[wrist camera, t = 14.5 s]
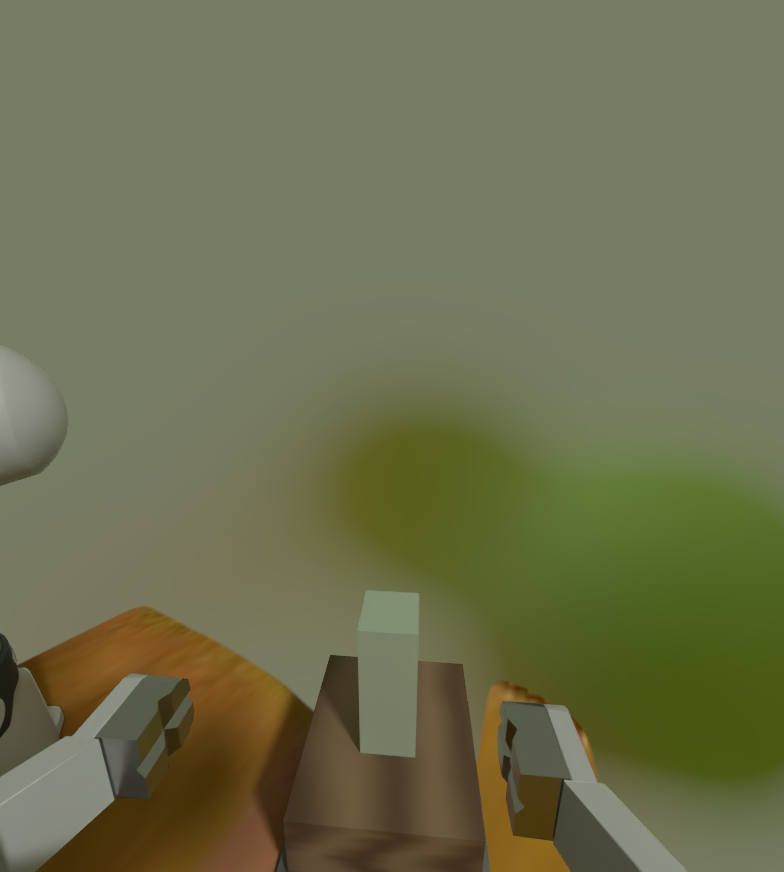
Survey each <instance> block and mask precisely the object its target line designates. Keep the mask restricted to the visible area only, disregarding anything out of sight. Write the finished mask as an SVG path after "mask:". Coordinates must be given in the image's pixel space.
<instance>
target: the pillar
mask: <svg viewBox="0 0 784 872" xmlns="http://www.w3.org/2000/svg"><path fill="white" fill-rule="evenodd" d="M357 635H358V636H357V639H358V682H359V726H360V753H368V754H380V755H391V756H402V757H414V758H415V749H416V714H417V679H418V642H419V641H418V640H419V593H405V592H386V591H368V590H367V591H366V593H365V598H364V603H363V607H362V612H361V616H360V621H359V625H358V630H357Z"/></svg>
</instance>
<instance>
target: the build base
mask: <svg viewBox="0 0 784 872" xmlns="http://www.w3.org/2000/svg"><path fill="white" fill-rule="evenodd" d="M283 828H284V838H285V842H284V846H283V850H282V854H281V857H280V861H279V865H278V868H277V872H490V868H489V860H488V852H487V845H486V837H485V829H484V822H483V814H482V806H481V799H480V791H479V783H478V775H477V768H476V760H475V752H474V745H473V737H472V729H471V723H470V714H469V706H468V701H467V695H466V687H465V680H464V671H463V664H453V663H438V662H423V661H418V679H417V714H416V749H415V758H414V757H402V756H391V755H380V754H368V753H360V726H359V682H358V657H350V656H336V655H330V658H329V661H328V665H327V669H326V672H325V676H324V679H323V683H322V686H321V690H320V693H319V696H318V700H317V704H316V707H315V710H314V714H313V717H312V721H311V724H310V728H309V731H308V735H307V738H306V742H305V745H304V749H303V752H302V756H301V759H300V763H299V766H298V770H297V773H296V777H295V780H294V784H293V787H292V791H291V794H290V798H289V801H288V805H287V808H286V812H285V815H284V819H283Z"/></svg>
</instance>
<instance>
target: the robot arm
mask: <svg viewBox="0 0 784 872" xmlns="http://www.w3.org/2000/svg"><path fill="white" fill-rule="evenodd" d="M67 427H68V415H67V409H66V405H65V402H64V399H63V397H62V395H61V393H60V391H59V389H58V388H57V386H56V385H55V383H54V382H53V381H52V379H51V378H50V377H49V376H48V375H47V374H46V373H45V372H44V371H43V370H42V369H41V368H40V367H39V366H38V365H36V364H35V363H34V362H32V361H31V360H29V359H28V358H27V357H25V356H23V355H22V354H20V353H18V352H17V351H14V350H12V349H9V348H7V347H5V346H2V345H0V486H1V485H4V484H7V483H11V482H14V481H17V480H21V479H24V478H27V477H30V476H33V475H37V474H39V473H41V472H42V471H43V470H44V469H45V468H46V467H47V466H49V465H50V463H51V462H52V461H53V460H54V459H55V457H56V455H57V454H58V453H59V451H60V449H61V447H62V445H63V443H64V440H65V437H66V434H67ZM16 662H17V660H16V656H15V653H14V651H13V649H12V648H11V646H10V645H9V643H8V640H7V639H6V637H5V636H4V635H2V634H0V872H36V871H37V870H38V869H39V868H40V867H41V866H42V865H43V864H44V863H46V862H47V861H48V860H49V859H50V858H51V857H52V856H53V855H54V854H55V853H57V852H58V851H59V850H60V849H61V848H62V847H63V846H64V845H65V844H67V843H68V842H69V841H70V840H71V839H72V838H73V837H74V836H75V835H76V834H78V833H79V832H80V831H81V830H82V829H83V828H84V827H85V826H86V825H87V824H89V823H90V822H91V821H92V820H93V819H94V818H95V817H96V816H97V815H98V814H100V813H101V812H102V811H103V810H104V809H105V808H106V807H107V806H108V805H109V804H111V803H112V802H113V801H114V797H119V798H135V799H150V798H151V797H152V795H153V793H154V792H155V790H156V788H157V787H158V785H159V783H160V781H161V780H162V778H163V776H164V775H165V773H166V771H167V770H168V768H169V756H170V755H171V754H173V753H174V752H175V751H176V750H178V749H179V748H180V747H181V746H182V744H183V742H184V741H185V739H186V737H187V735H188V733H189V730H190V727H191V724H192V722H193V715H194V707H193V702H192V701H191V700H190V699H189V698H188V697H187V696H186V695H187V694H188V692H189V691H190V685H189V680H188V679H183V678H174V677H165V676H155V675H145V674H133V673H131V674H129V675H128V676H126V677H124V678H123V679H122V680H121V681H120V683H119V684H118V685H117V686H116V687H115V688H114V689H113V691H112V692H111V693H110V694H109V695H108V696H107V697H106V698H105V700H104V701H103V702H102V703H101V704H100V705H99V706H98V707H97V709H96V710H95V711H94V712H93V713H92V714H91V715H90V717H89V718H88V719H87V720H86V721H85V722H84V723H83V724H82V726H81V727H80V728H79V729H78V730H77V731H76V732H75V733H74V735H73V736H65V737H64V738H62V739H61V740H60V738H59V734H60V731H61V728H62V725H63V721H64V713H63V711H62V709H61V708H60V707H59V706H47V705H46V702H45V700H44V698H43V696H42V694H41V692H40V690H39V688H38V686H37V684H36V682H35V680H34V678H33V676H32V674H31V672H30V671H29V670H28V669H27V668H25V667H22V668H17V665H16ZM500 717H501V722H502V724H501V725H499V726H498V736H497V740H498V756H499V763H500V769H501V775H502V776H503V778H504V779H505V780H506V782H507V792H506V801H507V807H508V812H509V817H510V822H511V827H512V832H513V836H520V837H527V838H535V839H542V840H550V841H554V842H553V844H554V846H555V847H556V849H557V850H558V852H559V853H560V855H561V856H562V858H563V860H564V861H565V863H566V864H567V866H568V867H569V869H570V870H571V872H687V870H686V869H684V867H683V866H682V865H681V864H680V863H679V862H678V861H677V860H676V859H675V858H674V857H673V856H672V855H671V854H670V852H669V851H668V850H667V849H666V848H665V847H664V846H663V845H662V844H661V843H660V842H659V841H658V840H657V839H656V838H655V837H654V836H653V834H651V832H650V831H649V830H648V829H647V828H646V827H645V826H644V825H643V824H642V823H641V822H640V821H639V820H638V819H637V818H636V816H635V815H633V813H632V812H631V811H630V810H629V809H628V808H627V807H626V806H625V805H624V804H623V803H622V802H621V801H620V800H619V798H618V797H616V795H615V794H614V793H613V792H612V791H611V790H610V789H609V788H608V787H607V786H606V785H605V784H604V783H597V781H596V778H595V776H594V773H593V771H592V768H591V766H590V763H589V761H588V758H587V756H586V753H585V751H584V748H583V746H582V743H581V741H580V739H579V736H578V734H577V731H576V729H575V726H574V724H573V721H572V719H571V716H570V714H569V711H568V710H567V708H566V707H565V706H561V705H548V704H543V705H542V704H541V703H524V702H506V701H502V703H501V705H500Z"/></svg>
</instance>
